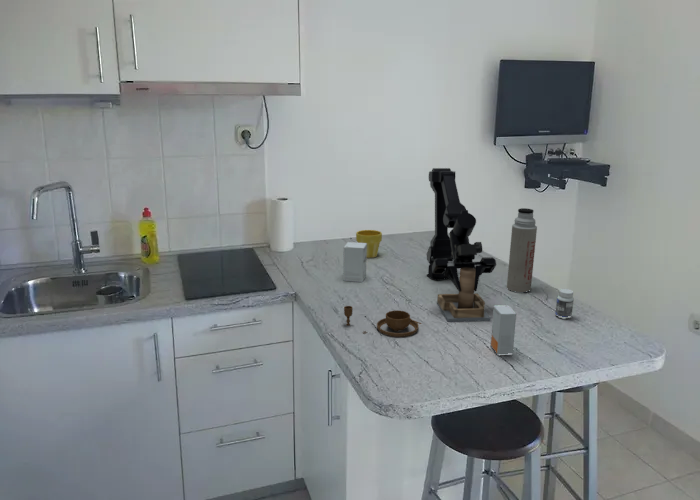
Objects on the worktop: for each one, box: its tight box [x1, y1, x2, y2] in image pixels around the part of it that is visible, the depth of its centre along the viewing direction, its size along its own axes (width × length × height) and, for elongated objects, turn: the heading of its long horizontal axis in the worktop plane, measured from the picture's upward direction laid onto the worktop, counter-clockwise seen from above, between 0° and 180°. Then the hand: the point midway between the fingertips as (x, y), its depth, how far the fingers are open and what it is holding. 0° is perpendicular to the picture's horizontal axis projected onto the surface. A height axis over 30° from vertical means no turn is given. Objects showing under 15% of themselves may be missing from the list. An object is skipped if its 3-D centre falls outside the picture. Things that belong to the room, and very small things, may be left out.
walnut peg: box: [458, 267, 476, 309], centre depth 175 cm, size 4×4×13 cm
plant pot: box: [355, 229, 383, 259], centre depth 236 cm, size 10×10×10 cm
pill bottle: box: [554, 288, 575, 317], centre depth 176 cm, size 5×5×8 cm
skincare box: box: [490, 304, 517, 354], centre depth 152 cm, size 6×4×12 cm
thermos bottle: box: [506, 207, 538, 293], centre depth 197 cm, size 8×8×28 cm
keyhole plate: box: [436, 292, 492, 323], centre depth 179 cm, size 14×13×4 cm
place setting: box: [343, 305, 422, 338], centre depth 169 cm, size 18×20×6 cm
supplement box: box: [342, 241, 368, 283], centre depth 208 cm, size 7×7×13 cm
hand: (467, 290), depth 174 cm, fingers closed on walnut peg, 4 cm apart
